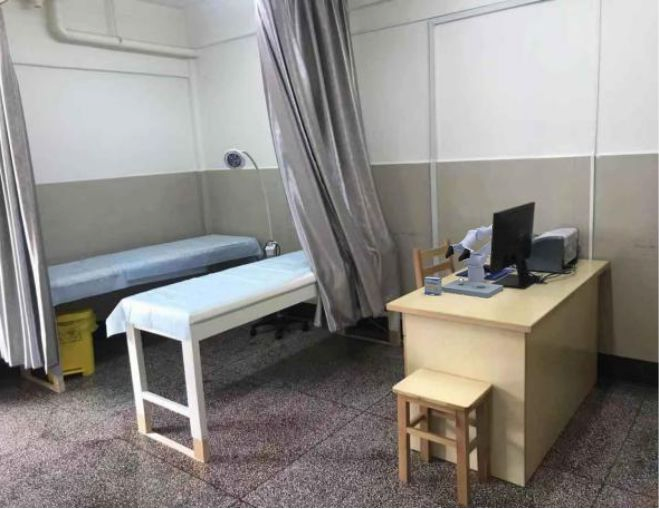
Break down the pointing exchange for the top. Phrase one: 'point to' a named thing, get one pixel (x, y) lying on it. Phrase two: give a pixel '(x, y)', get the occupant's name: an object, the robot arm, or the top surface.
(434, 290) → the medicine box
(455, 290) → the deck
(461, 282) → the ball
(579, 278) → the top surface
